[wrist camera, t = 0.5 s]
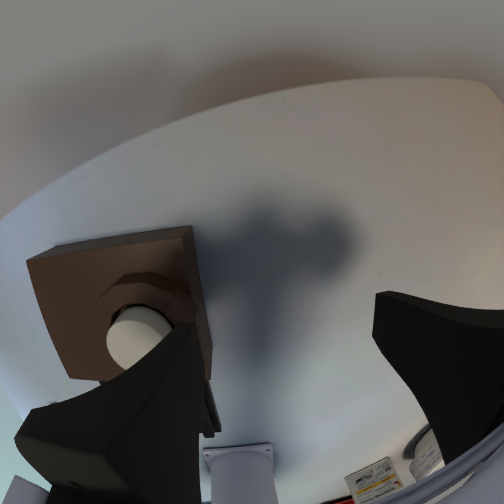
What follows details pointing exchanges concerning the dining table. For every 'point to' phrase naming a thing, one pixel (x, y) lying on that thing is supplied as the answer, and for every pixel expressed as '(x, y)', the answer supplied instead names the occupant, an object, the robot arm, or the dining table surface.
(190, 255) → the brown push button box
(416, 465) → the paper bowls
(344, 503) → the butter dish
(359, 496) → the container
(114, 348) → the button
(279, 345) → the dining table surface
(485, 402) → the robot arm
